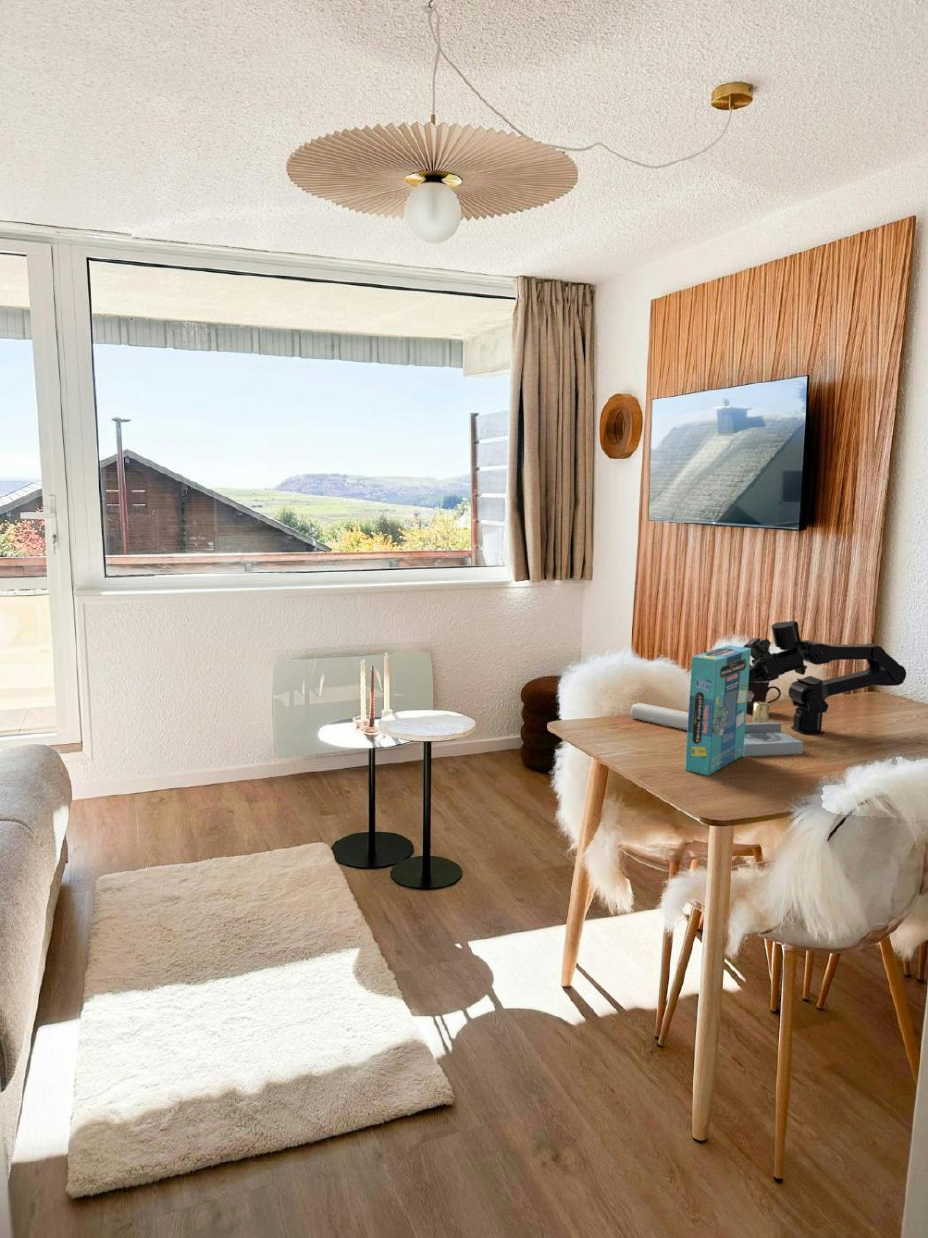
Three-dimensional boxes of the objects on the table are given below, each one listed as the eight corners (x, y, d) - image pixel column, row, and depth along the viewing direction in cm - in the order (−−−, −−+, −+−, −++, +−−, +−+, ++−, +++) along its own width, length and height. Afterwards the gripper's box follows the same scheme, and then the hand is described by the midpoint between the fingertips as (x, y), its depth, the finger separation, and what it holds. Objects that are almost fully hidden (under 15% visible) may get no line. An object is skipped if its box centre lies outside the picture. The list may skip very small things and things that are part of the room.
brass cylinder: (762, 729, 238) (764, 701, 237) (770, 733, 234) (772, 704, 233) (748, 730, 237) (750, 701, 236) (756, 734, 233) (758, 705, 232)
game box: (719, 751, 217) (726, 644, 213) (744, 756, 213) (751, 648, 209) (683, 770, 201) (690, 655, 197) (709, 776, 197) (717, 659, 193)
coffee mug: (730, 709, 260) (732, 677, 258) (752, 707, 263) (754, 675, 262) (758, 719, 249) (761, 685, 248) (781, 716, 253) (783, 683, 251)
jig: (775, 740, 228) (777, 721, 227) (802, 753, 216) (804, 734, 216) (720, 742, 225) (721, 723, 224) (744, 756, 213) (745, 736, 212)
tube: (625, 706, 246) (706, 723, 229) (635, 697, 249) (716, 713, 232) (628, 722, 248) (708, 740, 231) (638, 714, 251) (718, 730, 234)
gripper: (754, 639, 243) (704, 656, 241) (785, 629, 225) (731, 648, 223) (768, 677, 242) (718, 694, 240) (801, 670, 224) (746, 689, 221)
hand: (728, 681), depth 231 cm, fingers open, 9 cm apart
